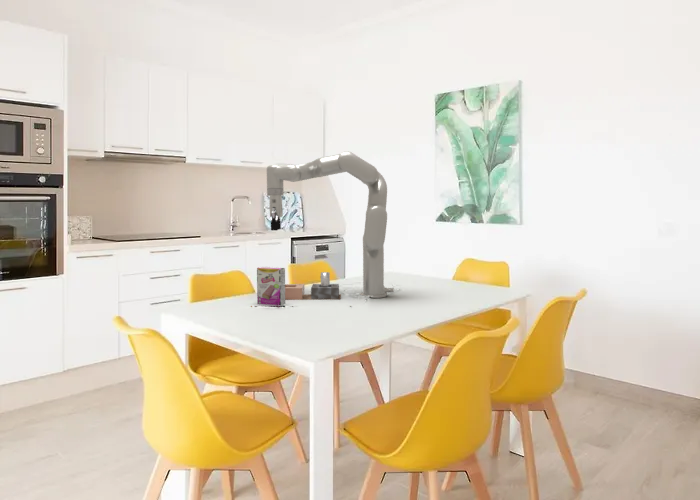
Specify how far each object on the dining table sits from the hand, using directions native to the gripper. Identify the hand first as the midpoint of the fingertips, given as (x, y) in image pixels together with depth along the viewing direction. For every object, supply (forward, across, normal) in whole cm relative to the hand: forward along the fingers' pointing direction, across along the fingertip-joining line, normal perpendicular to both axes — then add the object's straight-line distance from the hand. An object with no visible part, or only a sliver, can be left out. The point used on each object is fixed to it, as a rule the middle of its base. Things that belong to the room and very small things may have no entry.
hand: (275, 229), depth 254 cm
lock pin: (+30, -7, -23) cm, 38 cm away
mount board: (+31, -7, -15) cm, 35 cm away
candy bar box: (+31, -23, -1) cm, 39 cm away
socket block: (+30, -7, -7) cm, 32 cm away
